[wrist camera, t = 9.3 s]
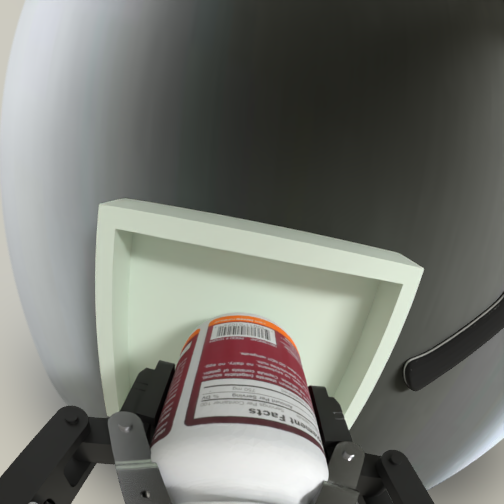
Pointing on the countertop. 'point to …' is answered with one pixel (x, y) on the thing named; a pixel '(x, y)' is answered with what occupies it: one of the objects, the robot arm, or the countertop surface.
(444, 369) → the kitchen cleaver
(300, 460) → the pill bottle
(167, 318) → the collection tray
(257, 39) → the countertop surface
